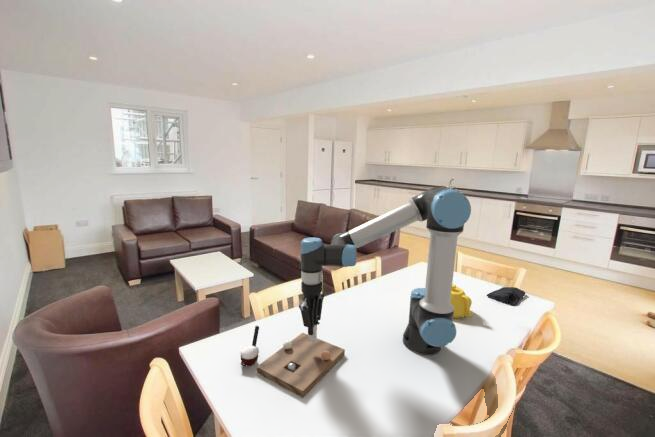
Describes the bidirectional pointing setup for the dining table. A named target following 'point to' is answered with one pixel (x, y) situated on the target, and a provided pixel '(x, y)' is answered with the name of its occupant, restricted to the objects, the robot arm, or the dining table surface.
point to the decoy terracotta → (326, 355)
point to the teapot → (460, 302)
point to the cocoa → (250, 351)
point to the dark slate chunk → (507, 295)
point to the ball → (291, 367)
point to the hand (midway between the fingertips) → (312, 340)
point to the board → (300, 364)
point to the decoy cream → (287, 344)
